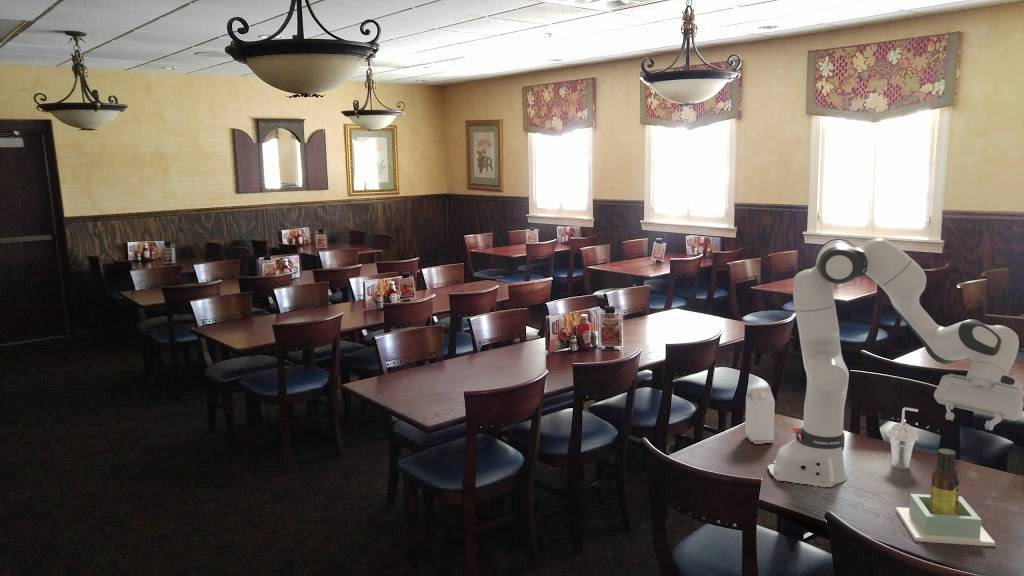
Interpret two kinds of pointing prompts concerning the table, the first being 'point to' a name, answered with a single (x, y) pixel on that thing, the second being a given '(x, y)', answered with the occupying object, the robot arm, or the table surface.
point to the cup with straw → (902, 442)
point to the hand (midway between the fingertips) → (968, 423)
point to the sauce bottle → (945, 485)
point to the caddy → (943, 523)
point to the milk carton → (760, 414)
